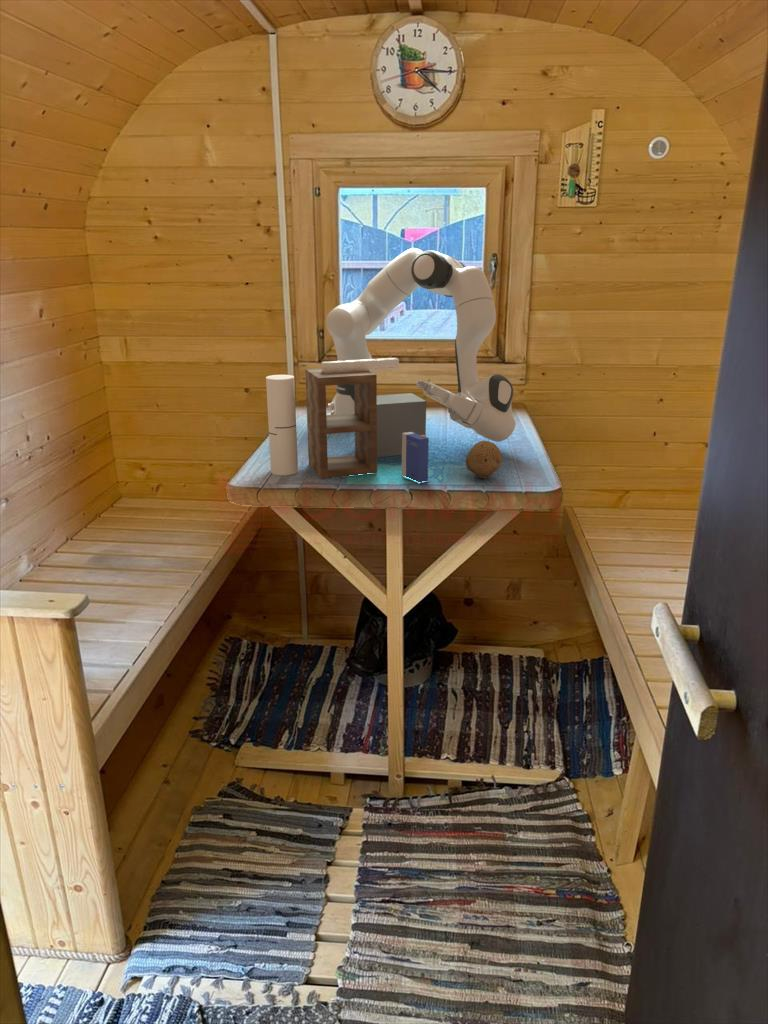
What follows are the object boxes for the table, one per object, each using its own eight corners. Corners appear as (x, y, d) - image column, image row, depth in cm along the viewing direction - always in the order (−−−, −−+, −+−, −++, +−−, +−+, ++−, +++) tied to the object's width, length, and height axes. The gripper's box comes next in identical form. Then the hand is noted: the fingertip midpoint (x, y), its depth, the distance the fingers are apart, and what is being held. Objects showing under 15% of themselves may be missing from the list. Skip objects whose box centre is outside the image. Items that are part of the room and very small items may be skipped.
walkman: (427, 482, 192) (428, 436, 188) (419, 484, 191) (419, 438, 187) (410, 475, 198) (410, 430, 194) (401, 476, 197) (401, 431, 193)
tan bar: (321, 371, 194) (321, 361, 193) (395, 367, 200) (395, 357, 199) (324, 373, 192) (324, 363, 191) (398, 369, 198) (399, 359, 197)
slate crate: (359, 447, 225) (359, 396, 219) (410, 442, 229) (411, 393, 224) (372, 457, 214) (371, 404, 209) (425, 452, 219) (426, 401, 213)
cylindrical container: (293, 475, 198) (289, 379, 189) (267, 474, 199) (262, 379, 190) (301, 468, 204) (297, 375, 196) (275, 466, 206) (270, 374, 197)
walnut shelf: (308, 464, 207) (305, 368, 198) (361, 459, 212) (360, 365, 203) (321, 479, 195) (318, 378, 186) (376, 473, 199) (376, 374, 190)
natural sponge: (504, 484, 191) (506, 445, 188) (469, 484, 191) (470, 446, 187) (496, 473, 200) (498, 436, 196) (463, 474, 199) (464, 437, 196)
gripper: (454, 390, 218) (416, 368, 212) (485, 405, 200) (444, 381, 194) (444, 410, 219) (405, 389, 213) (474, 426, 201) (432, 403, 195)
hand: (424, 385), depth 203 cm, fingers open, 8 cm apart
